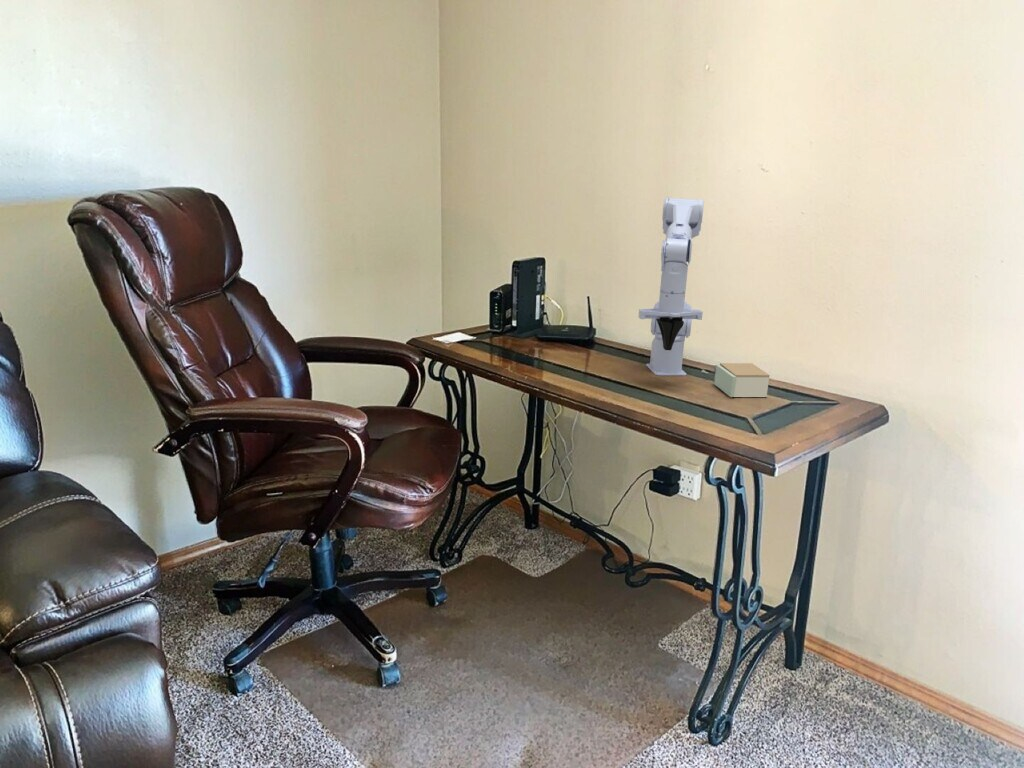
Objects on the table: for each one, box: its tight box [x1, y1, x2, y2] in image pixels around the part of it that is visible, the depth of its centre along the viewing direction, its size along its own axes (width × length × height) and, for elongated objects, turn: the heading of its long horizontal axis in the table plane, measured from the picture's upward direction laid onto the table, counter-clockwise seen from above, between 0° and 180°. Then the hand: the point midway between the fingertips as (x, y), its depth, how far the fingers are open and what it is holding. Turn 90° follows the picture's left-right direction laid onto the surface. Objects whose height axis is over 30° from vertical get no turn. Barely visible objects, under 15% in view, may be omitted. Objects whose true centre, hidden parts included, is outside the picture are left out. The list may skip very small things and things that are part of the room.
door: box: [712, 364, 736, 398], centre depth 185 cm, size 11×1×5 cm, turn 8°
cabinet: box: [719, 362, 771, 397], centre depth 185 cm, size 10×8×6 cm
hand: (667, 349), depth 184 cm, fingers closed
